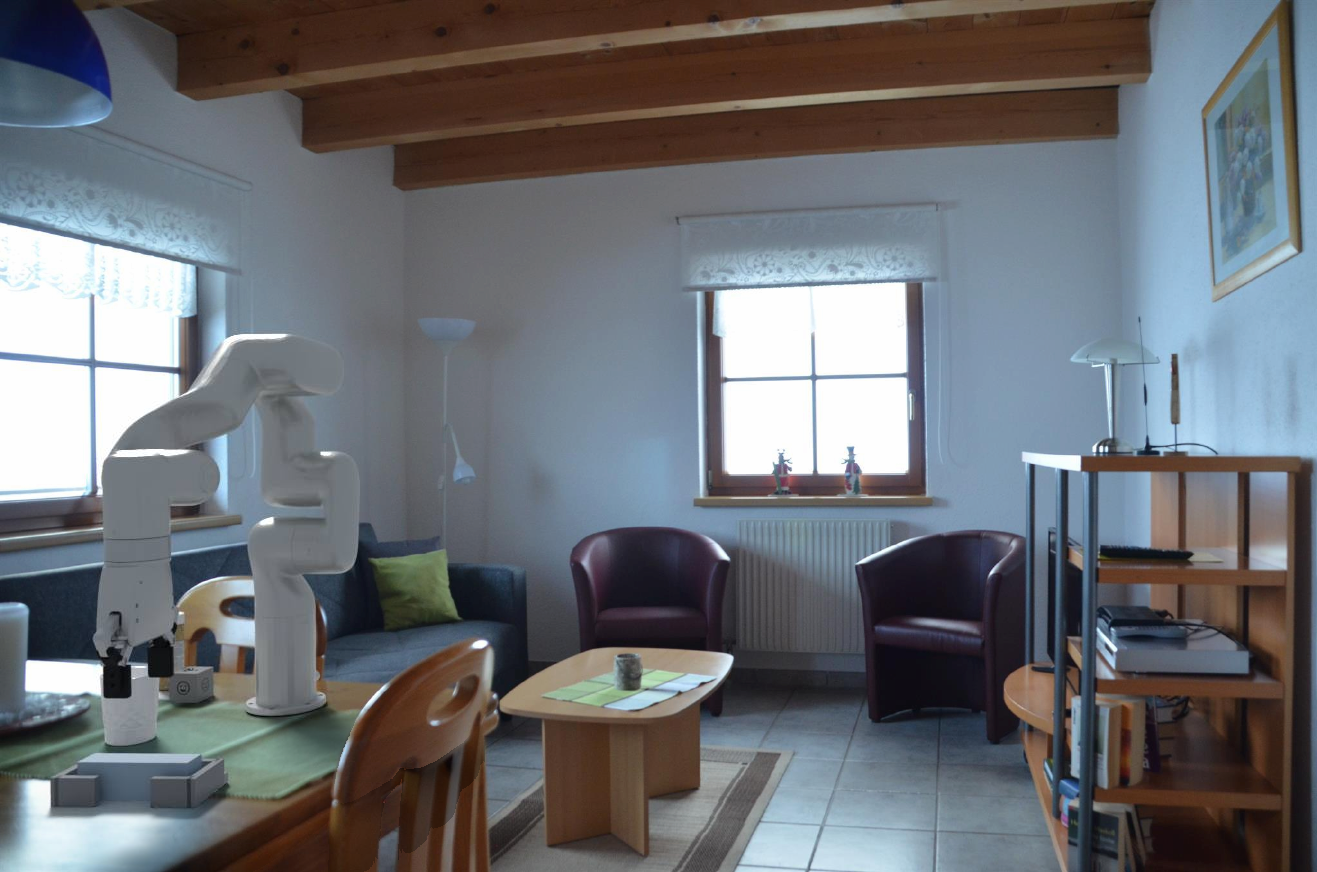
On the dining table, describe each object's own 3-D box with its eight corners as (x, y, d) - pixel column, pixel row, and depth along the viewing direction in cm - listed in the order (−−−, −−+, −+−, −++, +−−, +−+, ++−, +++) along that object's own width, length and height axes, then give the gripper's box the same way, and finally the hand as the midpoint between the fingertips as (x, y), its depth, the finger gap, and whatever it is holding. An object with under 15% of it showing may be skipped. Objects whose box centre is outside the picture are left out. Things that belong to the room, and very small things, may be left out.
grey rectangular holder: (92, 782, 130) (92, 755, 130) (228, 783, 130) (227, 756, 130) (50, 806, 122) (50, 777, 122) (195, 807, 121) (194, 778, 121)
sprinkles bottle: (151, 689, 178) (150, 614, 178) (174, 683, 182) (173, 610, 182) (168, 692, 176) (167, 616, 176) (190, 686, 180) (190, 611, 180)
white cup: (135, 749, 144) (134, 680, 144) (87, 746, 146) (87, 677, 146) (172, 733, 152) (171, 667, 152) (126, 730, 153) (126, 665, 153)
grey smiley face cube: (186, 694, 174) (186, 666, 174) (213, 695, 174) (213, 666, 174) (169, 702, 169) (169, 673, 169) (197, 703, 169) (196, 673, 169)
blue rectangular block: (77, 802, 124) (77, 762, 124) (94, 792, 127) (94, 753, 127) (187, 803, 123) (187, 762, 123) (201, 793, 127) (201, 753, 127)
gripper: (146, 542, 134) (148, 669, 134) (64, 561, 117) (67, 706, 117) (201, 542, 134) (203, 669, 134) (127, 560, 116) (130, 707, 117)
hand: (140, 686), depth 125 cm, fingers open, 9 cm apart
